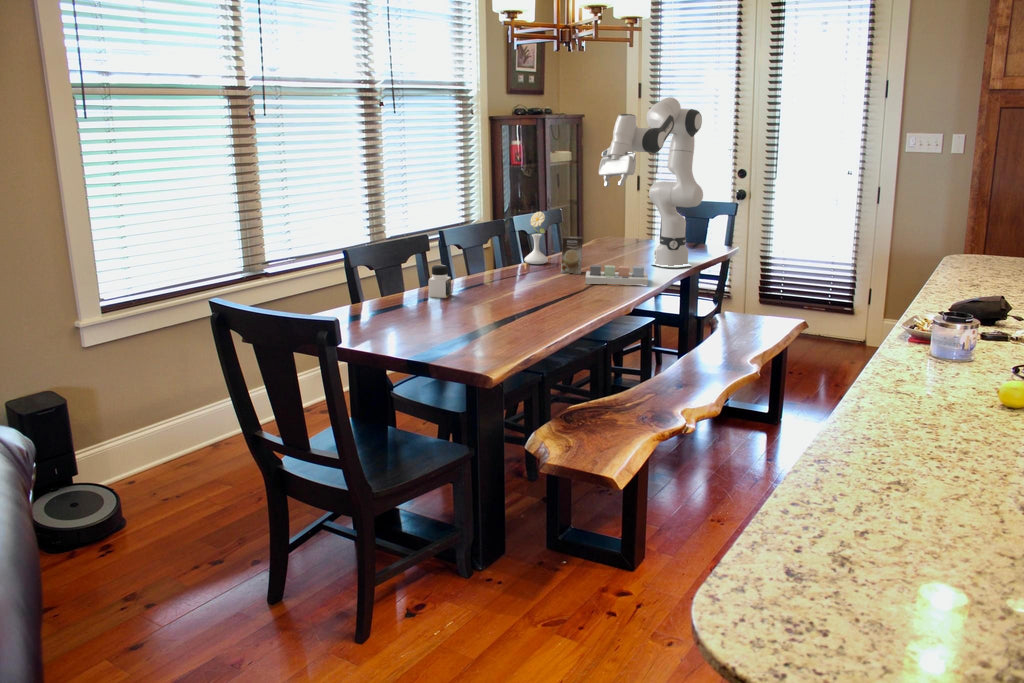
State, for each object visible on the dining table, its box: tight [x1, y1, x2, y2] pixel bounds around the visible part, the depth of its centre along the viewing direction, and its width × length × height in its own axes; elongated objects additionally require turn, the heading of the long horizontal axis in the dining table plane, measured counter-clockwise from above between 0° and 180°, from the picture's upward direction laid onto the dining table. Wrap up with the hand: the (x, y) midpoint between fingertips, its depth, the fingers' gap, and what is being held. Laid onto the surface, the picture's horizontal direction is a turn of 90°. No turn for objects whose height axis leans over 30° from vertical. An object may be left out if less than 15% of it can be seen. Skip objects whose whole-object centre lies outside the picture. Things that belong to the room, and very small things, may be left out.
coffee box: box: [560, 235, 583, 275], centre depth 384 cm, size 9×6×16 cm
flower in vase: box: [523, 211, 549, 265], centre depth 403 cm, size 13×11×25 cm
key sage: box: [603, 264, 616, 276], centre depth 366 cm, size 4×4×4 cm
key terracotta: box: [618, 265, 630, 277], centre depth 365 cm, size 4×4×4 cm
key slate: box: [632, 265, 645, 277], centre depth 365 cm, size 4×4×4 cm
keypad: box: [584, 270, 649, 286], centre depth 366 cm, size 14×26×3 cm, turn 84°
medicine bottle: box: [428, 264, 452, 299], centre depth 335 cm, size 7×7×12 cm
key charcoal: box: [589, 264, 602, 276], centre depth 367 cm, size 4×4×4 cm
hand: (613, 186), depth 350 cm, fingers open, 8 cm apart
